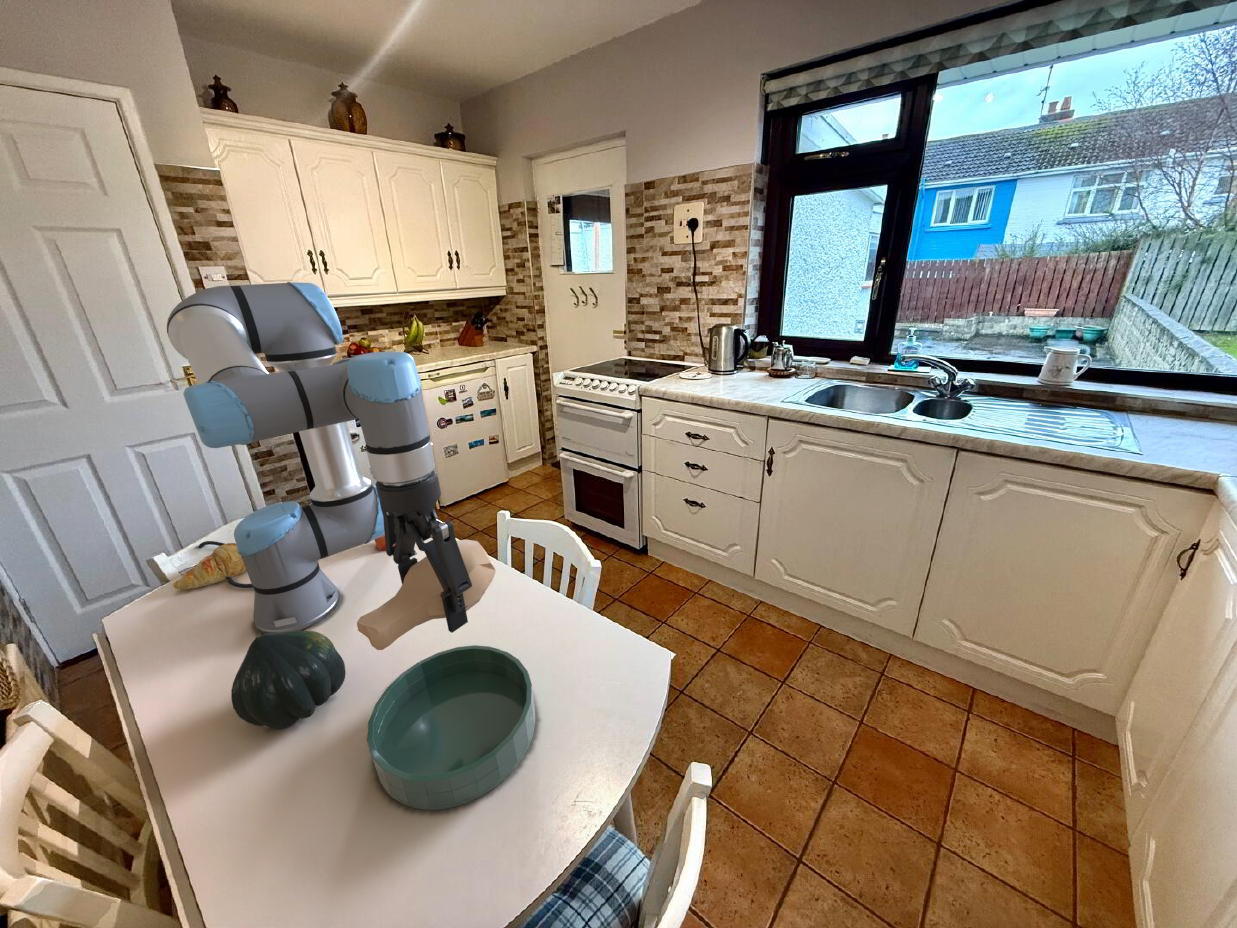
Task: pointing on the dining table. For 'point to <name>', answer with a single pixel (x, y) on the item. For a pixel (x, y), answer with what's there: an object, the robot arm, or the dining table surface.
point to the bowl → (452, 727)
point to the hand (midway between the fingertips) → (436, 611)
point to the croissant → (213, 568)
